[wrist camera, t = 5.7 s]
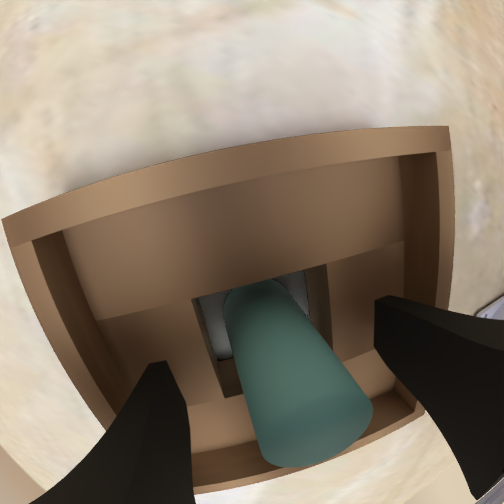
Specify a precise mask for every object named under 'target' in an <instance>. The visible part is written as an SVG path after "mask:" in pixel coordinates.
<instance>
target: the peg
mask: <svg viewBox="0 0 504 504" xmlns="http://www.w3.org/2000/svg"><path fill="white" fill-rule="evenodd" d="M223 317H224V322H225V326H226V329H227V333H228V337H229V341H230V345H231V349H232V353H233V356H234V360H235V364H236V368H237V371H238V375H239V379H240V382H241V386H242V389H243V393H244V396H245V400H246V403H247V407H248V410H249V414H250V417H251V421H252V424H253V427H254V431H255V434H256V437H257V441H258V444H259V447H260V451H261V454H262V456H263V458H264V459H265V460H266V461H268V462H269V463H271V464H273V465H276V466H279V467H288V468H294V467H304V466H309V465H313V464H316V463H319V462H322V461H325V460H327V459H329V458H331V457H333V456H335V455H337V454H339V453H341V452H342V451H344V450H345V449H347V448H348V447H349V446H351V445H352V444H353V443H354V442H355V441H356V440H357V439H358V438H359V437H360V436H361V435H362V434H363V433H364V431H365V430H366V429H367V427H368V425H369V424H370V422H371V419H372V415H373V406H372V403H371V401H370V400H369V398H368V397H367V396H366V394H365V393H364V392H363V390H362V389H361V388H360V386H359V385H358V384H357V382H356V381H355V380H354V378H353V377H352V376H351V374H350V373H349V372H348V370H347V369H346V368H345V366H344V365H343V364H342V362H341V361H340V360H339V358H338V357H337V356H336V354H335V353H334V352H333V351H332V349H331V348H330V347H329V345H328V344H327V343H326V341H325V340H324V339H323V337H322V336H321V335H320V333H319V332H318V331H317V329H316V328H315V327H314V325H313V324H312V323H311V321H310V320H309V319H308V317H307V316H306V315H305V314H304V312H303V311H302V310H301V308H300V307H299V306H298V304H297V303H296V302H295V300H294V299H293V298H292V296H291V295H290V294H289V292H288V291H287V290H286V289H285V287H284V286H283V285H281V284H280V283H279V282H277V281H275V280H272V279H267V280H263V281H260V282H256V283H252V284H248V285H244V286H241V287H237V288H234V289H233V290H232V291H231V292H230V293H229V295H228V296H227V298H226V300H225V303H224V307H223Z"/></svg>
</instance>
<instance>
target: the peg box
mask: <svg viewBox="0 0 504 504" xmlns="http://www.w3.org/2000/svg"><path fill="white" fill-rule="evenodd" d="M1 220H2V224H3V227H4V231H5V234H6V237H7V241H8V244H9V247H10V250H11V253H12V256H13V259H14V262H15V265H16V268H17V270H18V273H19V276H20V278H21V281H22V283H23V286H24V288H25V291H26V293H27V296H28V298H29V300H30V303H31V305H32V307H33V309H34V312H35V314H36V316H37V318H38V320H39V322H40V324H41V326H42V329H43V331H44V333H45V335H46V337H47V338H48V340H49V342H50V344H51V346H52V348H53V350H54V352H55V353H56V355H57V357H58V359H59V361H60V362H61V364H62V366H63V368H64V369H65V371H66V373H67V374H68V376H69V378H70V379H71V381H72V382H73V384H74V386H75V387H76V389H77V390H78V392H79V393H80V395H81V396H82V398H83V399H84V401H85V402H86V404H87V405H88V407H89V408H90V410H91V411H92V412H93V414H94V415H95V417H96V418H97V419H98V421H99V422H100V423H101V425H102V426H103V427H104V429H105V430H106V431H107V430H108V428H109V427H110V425H111V424H112V422H113V421H114V419H115V418H116V416H117V415H118V414H119V412H120V411H121V409H122V407H123V406H124V404H125V403H126V401H127V399H128V398H129V396H130V394H131V393H132V391H133V389H134V388H135V386H136V384H137V382H138V381H139V379H140V377H141V376H142V374H143V372H144V371H145V369H146V367H147V366H148V364H149V363H154V362H159V361H164V360H167V363H168V365H169V367H170V369H171V372H172V374H173V376H174V378H175V380H176V383H177V385H178V387H179V389H180V391H181V393H182V395H183V397H184V399H185V401H186V404H187V411H188V417H189V424H190V434H191V460H192V480H193V491H194V495H196V494H203V493H209V492H215V491H221V490H227V489H232V488H237V487H241V486H246V485H250V484H254V483H259V482H263V481H266V480H270V479H274V478H277V477H281V476H284V475H288V474H291V473H294V472H297V471H300V470H304V469H307V468H309V467H312V466H315V465H318V464H321V463H323V462H326V461H329V460H331V459H334V458H337V457H339V456H342V455H344V454H346V453H349V452H351V451H353V450H356V449H358V448H360V447H363V446H365V445H367V444H369V443H371V442H373V441H375V440H377V439H380V438H382V437H384V436H386V435H388V434H390V433H391V432H393V431H395V430H397V429H399V428H401V427H403V426H405V425H406V424H408V423H410V422H412V421H414V420H415V419H417V418H419V417H420V416H422V415H424V413H425V408H424V407H423V406H422V404H421V403H420V402H419V401H418V400H417V399H416V398H415V397H414V396H413V395H412V393H411V392H410V391H409V390H408V389H407V388H406V387H405V386H404V385H403V384H402V383H401V381H400V380H399V379H398V378H397V377H396V376H395V375H394V374H393V373H392V371H391V370H390V369H389V368H388V367H387V366H386V364H385V363H384V361H383V360H382V358H381V357H380V355H379V354H378V352H377V351H376V349H375V348H374V346H373V345H374V300H376V299H379V298H382V297H384V296H387V295H392V296H397V297H401V298H405V299H408V300H412V301H415V302H419V303H422V304H426V305H429V306H433V307H437V308H440V309H444V310H448V306H449V298H450V290H451V281H452V270H453V256H454V233H455V198H454V175H453V161H452V151H451V141H450V133H449V126H409V127H387V128H371V129H358V130H347V131H337V132H327V133H319V134H310V135H303V136H295V137H289V138H282V139H275V140H269V141H263V142H257V143H252V144H246V145H241V146H236V147H230V148H225V149H221V150H216V151H211V152H206V153H202V154H198V155H193V156H189V157H185V158H181V159H176V160H172V161H168V162H165V163H161V164H157V165H153V166H150V167H146V168H142V169H139V170H135V171H132V172H128V173H125V174H122V175H118V176H115V177H112V178H109V179H105V180H102V181H99V182H96V183H93V184H90V185H87V186H84V187H81V188H78V189H76V190H73V191H70V192H67V193H64V194H62V195H59V196H56V197H54V198H51V199H48V200H46V201H43V202H41V203H38V204H36V205H33V206H31V207H28V208H26V209H24V210H21V211H19V212H16V213H14V214H12V215H10V216H7V217H5V218H3V219H1ZM301 270H304V271H305V279H306V287H307V295H308V303H309V312H310V321H311V323H312V324H313V325H314V327H315V328H316V329H317V331H318V332H319V333H320V335H321V336H322V337H323V339H324V340H325V341H326V343H327V344H328V345H329V347H330V348H331V349H332V351H333V352H334V353H335V354H336V356H337V357H338V358H339V360H340V361H341V362H342V364H343V365H344V366H345V368H346V369H347V370H348V372H349V373H350V374H351V376H352V377H353V378H354V380H355V381H356V382H357V384H358V385H359V386H360V388H361V389H362V390H363V392H364V393H365V394H366V396H367V397H368V398H369V400H370V401H371V403H372V406H373V415H372V419H371V422H370V424H369V425H368V427H367V429H366V430H365V431H364V433H363V434H362V435H361V436H360V437H359V438H358V439H357V440H356V441H355V442H354V443H353V444H352V445H351V446H349V447H348V448H347V449H345V450H344V451H342V452H341V453H339V454H337V455H335V456H333V457H331V458H329V459H327V460H325V461H322V462H319V463H316V464H313V465H309V466H304V467H294V468H288V467H279V466H276V465H273V464H271V463H269V462H268V461H266V460H265V459H264V458H263V456H262V454H261V451H260V447H259V444H258V441H257V437H256V434H255V431H254V427H253V424H252V421H251V417H250V414H249V410H248V407H247V403H246V400H245V396H244V393H243V389H242V386H241V382H240V379H239V375H238V371H237V368H236V364H235V360H234V358H231V359H227V360H223V361H219V362H217V359H216V356H215V353H214V350H213V347H212V344H211V341H210V338H209V334H208V331H207V328H206V325H205V322H204V318H203V315H202V312H201V309H200V305H199V302H198V299H197V297H201V296H205V295H209V294H213V293H217V292H221V291H225V290H229V289H233V288H237V287H241V286H244V285H248V284H252V283H256V282H260V281H263V280H267V279H271V278H275V277H278V276H282V275H286V274H290V273H293V272H297V271H301Z"/></svg>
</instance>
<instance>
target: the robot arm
mask: <svg viewBox="0 0 504 504" xmlns="http://www.w3.org/2000/svg"><path fill="white" fill-rule="evenodd" d="M373 346H374V348H375V349H376V351H377V352H378V354H379V355H380V357H381V358H382V360H383V361H384V363H385V364H386V366H387V367H388V368H389V369H390V370H391V371H392V373H393V374H394V375H395V376H396V377H397V378H398V379H399V380H400V381H401V383H402V384H403V385H404V386H405V387H406V388H407V389H408V390H409V391H410V392H411V393H412V395H413V396H414V397H415V398H416V399H417V400H418V401H419V402H420V403H421V404H422V406H423V407H424V408H425V409H426V411H427V412H428V413H429V415H430V416H431V418H432V419H433V421H434V422H435V424H436V425H437V427H438V428H439V430H440V431H441V433H442V434H443V436H444V438H445V439H446V441H447V443H448V444H449V446H450V448H451V450H452V452H453V454H454V455H455V457H456V459H457V461H458V463H459V465H460V467H461V470H462V472H463V474H464V476H465V479H466V481H467V484H468V486H469V489H470V492H471V494H472V495H473V496H474V498H475V499H476V500H478V499H480V498H481V497H482V496H483V495H484V494H486V493H487V492H488V491H489V490H490V489H491V488H492V487H494V486H495V485H496V484H497V483H498V482H499V481H500V480H501V479H502V478H503V477H504V296H502V297H501V298H500V299H498V300H497V301H495V302H494V303H492V304H491V305H489V306H488V307H486V308H485V309H483V310H482V311H480V312H479V313H478V314H477V315H476V317H475V316H470V315H465V314H461V313H456V312H452V311H448V310H444V309H440V308H437V307H433V306H429V305H426V304H422V303H419V302H415V301H412V300H408V299H405V298H401V297H397V296H392V295H387V296H384V297H382V298H379V299H376V300H374V345H373ZM502 502H504V479H503V480H501V482H499V483H498V484H497V485H496V486H495V487H494V488H493V489H492V490H491V491H490V492H488V493H487V494H486V495H485V496H484V497H482V498H481V499H480V500H479V501H478V502H477V503H475V504H502ZM29 504H196V503H195V497H194V491H193V480H192V460H191V434H190V424H189V417H188V411H187V404H186V401H185V399H184V397H183V395H182V393H181V391H180V389H179V387H178V385H177V383H176V380H175V378H174V376H173V374H172V372H171V369H170V367H169V365H168V363H167V360H164V361H159V362H154V363H149V364H148V366H147V367H146V369H145V371H144V372H143V374H142V376H141V377H140V379H139V381H138V382H137V384H136V386H135V388H134V389H133V391H132V393H131V394H130V396H129V398H128V399H127V401H126V403H125V404H124V406H123V407H122V409H121V411H120V412H119V414H118V415H117V416H116V418H115V419H114V421H113V422H112V424H111V425H110V427H109V428H108V430H107V431H106V432H105V434H104V435H103V436H102V438H101V439H100V440H99V441H98V443H97V444H96V445H95V446H94V447H93V449H92V450H91V451H90V452H89V453H88V454H87V455H86V457H85V458H84V459H83V460H82V461H81V462H80V463H79V464H78V465H77V466H76V467H75V468H74V469H73V470H72V471H71V472H70V473H68V474H67V475H66V476H65V477H64V478H63V479H62V480H61V481H60V482H58V483H57V484H56V485H55V486H53V487H52V488H51V489H50V490H48V491H47V492H46V493H44V494H43V495H42V496H40V497H39V498H37V499H36V500H34V501H32V502H31V503H29Z"/></svg>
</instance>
